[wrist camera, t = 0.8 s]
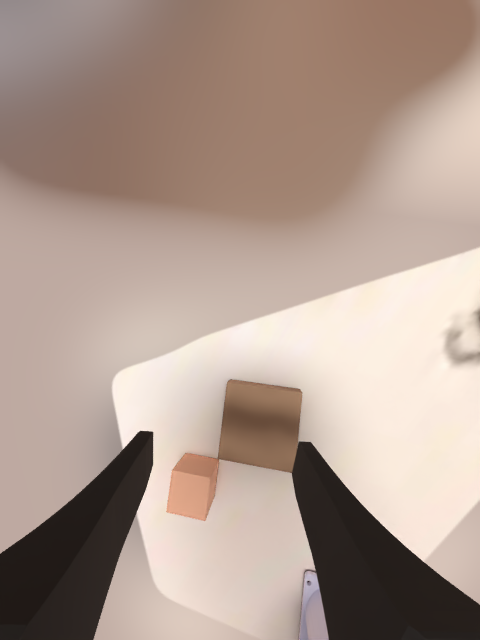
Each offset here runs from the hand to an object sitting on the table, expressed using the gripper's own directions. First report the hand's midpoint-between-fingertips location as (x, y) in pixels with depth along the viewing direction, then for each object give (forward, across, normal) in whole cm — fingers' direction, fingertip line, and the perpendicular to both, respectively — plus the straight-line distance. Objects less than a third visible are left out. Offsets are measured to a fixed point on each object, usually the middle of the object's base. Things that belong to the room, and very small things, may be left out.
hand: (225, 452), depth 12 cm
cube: (+15, +2, +19) cm, 24 cm away
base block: (+16, -5, +11) cm, 20 cm away
